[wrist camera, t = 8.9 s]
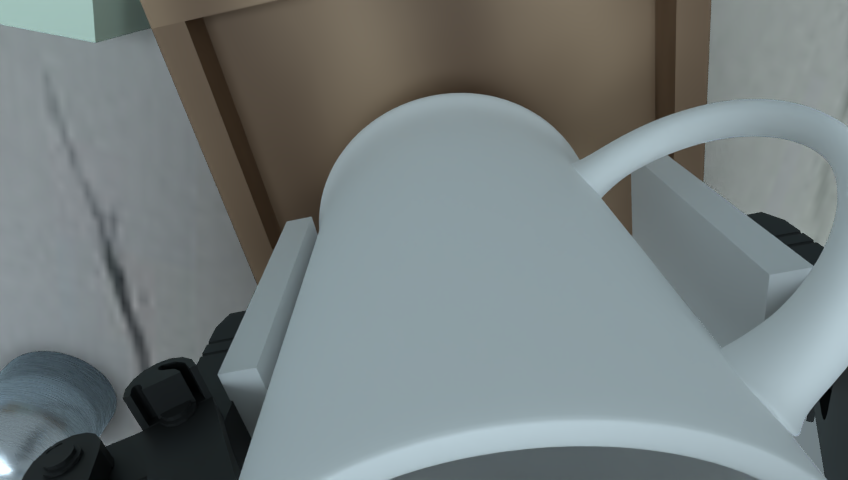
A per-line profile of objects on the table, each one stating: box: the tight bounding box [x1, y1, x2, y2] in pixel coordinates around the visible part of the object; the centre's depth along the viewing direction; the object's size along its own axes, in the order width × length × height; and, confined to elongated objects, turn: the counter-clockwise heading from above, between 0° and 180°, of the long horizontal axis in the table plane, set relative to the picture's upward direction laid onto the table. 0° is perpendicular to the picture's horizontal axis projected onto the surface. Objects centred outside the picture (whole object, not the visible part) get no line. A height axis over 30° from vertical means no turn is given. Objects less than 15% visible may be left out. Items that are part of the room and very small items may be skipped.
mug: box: [239, 93, 848, 480], centre depth 11 cm, size 12×8×12 cm
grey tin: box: [0, 351, 117, 480], centre depth 23 cm, size 5×5×5 cm
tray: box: [140, 0, 711, 311], centre depth 19 cm, size 16×16×2 cm
